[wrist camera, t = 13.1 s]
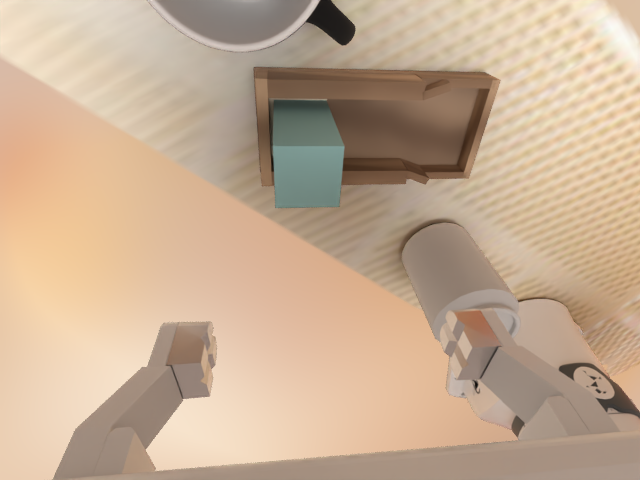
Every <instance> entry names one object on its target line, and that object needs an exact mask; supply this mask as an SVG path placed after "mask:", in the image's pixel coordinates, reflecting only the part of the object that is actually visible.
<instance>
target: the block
mask: <svg viewBox="0 0 640 480" xmlns="http://www.w3.org/2000/svg"><path fill="white" fill-rule="evenodd" d="M273 158H274V183H275V208H305V207H339V204H340V192H341V181H342V169H343V158H344V144H343V141H342V139H341V136H340V134H339V131H338V129H337V126H336V124H335V121H334V118H333V116H332V113H331V111H330V108H329V106H328V103H327V101H326V100H274V117H273Z"/></svg>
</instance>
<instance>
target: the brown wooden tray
mask: <svg viewBox="0 0 640 480" xmlns="http://www.w3.org/2000/svg"><path fill="white" fill-rule="evenodd" d="M500 81H501V80H499V79H497V78H495V77H493V76H491V75H489V74H487V73H483V72H441V71H399V70H357V69H314V68H272V67H254V83H255V98H256V113H257V128H258V143H259V159H260V172H261V181H262V186H272V185H275V183H274V158H273V117H274V100H326V101H327V103H328V106H329V108H330V111H331V113H332V116H333V118H334V121H335V124H336V126H337V129H338V131H339V134H340V136H341V139H342V141H343V144H344V158H343V169H342V181H341V185H364V184H406V179H412V180H414V181H417V182H420V183H423V184H426V183H427V181H428V180H429V179H457V178H469V176H470V173H471V170H472V167H473V164H474V161H475V157H476V154H477V151H478V148H479V145H480V142H481V139H482V136H483V133H484V130H485V127H486V124H487V121H488V117H489V114H490V111H491V108H492V105H493V102H494V99H495V96H496V93H497V90H498V87H499V84H500Z"/></svg>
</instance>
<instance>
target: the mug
mask: <svg viewBox="0 0 640 480" xmlns="http://www.w3.org/2000/svg"><path fill="white" fill-rule="evenodd" d="M147 1H148V2H149V3H150V4H151V6H152V7H153V8H154V9H155V10H156V11H157V12H158V13H159V14H160V15H161V16H162V17H163V18H164V19H165V20H166V21H167V22H168V23H169V24H171V25H172V26H173V27H175V28H176V29H177V30H178V31H180V32H181V33H183V34H184V35H186V36H188V37H189V38H191V39H193V40H195V41H197V42H199V43H201V44H204V45H206V46H209V47H212V48H215V49H219V50H224V51H230V52H251V51H257V50H262V49H265V48H268V47H271V46H273V45H276V44H278V43H280V42H282V41H283V40H285V39H286V38H288V37H289V36H291V35H292V34H293V33H294V32H296V31H297V30H298V29H299V28H300V27H301V26H302V25H303V24H304V23H305V22H308V23H312V24H314V25H316V26H318V27H319V28H320V29H322V30H323V31H324V32H326V33H327V34H328V35H329V36H330V37H332V38H333V39H334V40H335V41H337V42H338V43H339V44H341V45H346V44H348V43H349V42H350V41H351V40H352V38H353V36H354V34H355V26H354V24H353V23H352V22H351V21H350V20H349V19H348V18H347V17H346V16H345V15H344V14H343V13H342V12H341V11H340V10H339V9H338V8H337V7H336V6H335V5H334V4H333V3H332V1H331V0H147Z"/></svg>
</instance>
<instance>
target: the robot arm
mask: <svg viewBox="0 0 640 480" xmlns="http://www.w3.org/2000/svg"><path fill="white" fill-rule="evenodd" d="M518 305H519V311H518V315H519V317H520V321H521V326H520V328H519V331H518V333H517V334H516V335H515V337H514V338H512V337H511V335H510V334H509V332H508V331H507V329H506V327H505V326H504V324H503V323H502V321H501V320H500V318H499V317H498V315H497V314H496V312H495V311H494V310H493V309H492V308H486V309H462V310H450V311H448V312H447V314H446V317H445V318H446V320H447V322H446V323H445V324H444V325H443V326H442V328H441V331H440V341H441V345H442V348H443V350H444V352H445V353H446V354H447V355H449V356H450V358H449V366H448V374H447V382H446V390H447V392H448V394H449V395H452V396H455V397H460V398H467V400H468V402H469V404H470V406H471V408H472V410H473V411H474V413H475V414H476V415H477V417H479V418H480V419H481V420H483V421H486V422H489V423H492V424H495V425H499V426H502V427H504V428H507V429H510V430H512V431H513V432H514V434H515V435H516V436H517V437H518V441H506V442H494V443H483V444H471V445H458V446H447V447H435V448H423V449H411V450H399V451H387V452H375V453H364V454H352V455H340V456H329V457H316V458H306V459H305V458H304V459H292V460H281V461H269V462H257V463H247V464H246V463H245V464H234V465H222V466H211V467H198V468H186V469H175V470H163V471H155V469H156V468H155V466H154V464H153V463H152V461H151V459H150V457H149V455H148V454H147V452H146V448H147V447H148V446H149V444H150V443H151V442H152V440H153V439H154V438H155V437H156V435H157V434H158V433H159V431H160V430H161V429H162V427H163V426H164V425H165V424H166V422H167V421H168V420H169V418H170V417H171V415H172V414H173V413H174V412H175V410H176V409H177V408H178V407H179V405H180V404H181V403H182V401H183V399H188V398H198V397H209V396H210V393H211V387H212V382H213V375H212V370H211V369H212V368H213V367H214V366H215V363H216V354H217V345H216V338H215V337H214V336H213V335H212V334H213V325H212V322H175V323H174V322H173V323H163V325H162V326H161V327H160V330H159V333H158V336H157V339H156V342H155V345H154V348H153V351H152V354H151V357H150V360H149V363H148V366H147V367H142V368H141V369H140V370H139V371H138V372H137V373H135V374H134V375H133V376H132V377H131V378H130V379H129V380H128V381H127V382H126V383H125V384H124V385H123V386H122V387H121V388H119V389H118V390H117V391H116V392H115V393H114V394H113V395H112V396H111V397H110V398H109V399H108V400H106V401H105V402H104V403H103V404H102V405H101V406H100V407H99V408H98V409H97V410H96V411H95V412H94V413H92V414H91V415H90V416H89V417H88V418H87V419H86V420H85V421H84V422H83V423H82V424H81V425H80V426H78V427H77V428H76V430H75V431H74V433H73V436H72V438H71V440H70V442H69V445H68V447H67V449H66V451H65V453H64V456H63V458H62V460H61V462H60V465H59V467H58V469H57V471H56V473H55V476H54V478H53V480H640V412H639V410H638V409H637V408H636V406H635V404H634V403H633V402H632V400H631V399H629V398H628V396H627V395H626V394H625V393H624V391H623V390H622V389H621V388H620V387H619V385H617V384H616V383H615V382H613V381H612V380H611V379H610V377H609V375H608V373H607V372H606V370H605V369H604V367H603V366H602V364H601V363H600V361H599V360H598V358H597V357H596V355H595V354H594V352H593V351H592V349H591V348H590V346H589V345H588V344H587V342H586V341H585V339H584V338H583V336H582V335H583V331H582V329H581V328H580V326H579V325H578V324H576V323H575V322H574V321H573V319H572V317H571V315H570V313H569V311H568V309H567V307H566V306H565V305H563V304H562V303H560V302H558V301H554V300H550V299H533V300H526V301H522V302H518Z"/></svg>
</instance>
